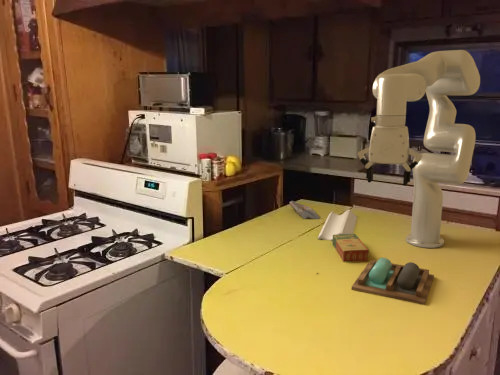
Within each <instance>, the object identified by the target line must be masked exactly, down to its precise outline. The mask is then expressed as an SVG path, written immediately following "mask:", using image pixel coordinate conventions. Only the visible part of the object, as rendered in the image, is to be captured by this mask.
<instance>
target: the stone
mask: <svg viewBox="0 0 500 375" xmlns="http://www.w3.org/2000/svg"><path fill="white" fill-rule="evenodd" d="M289 205H290V207H291V208H292V209H293V210H294V211H295V212H296V213H297V214H298V216H300V217H302V219H304V220H306V219H308V218H309V219H312V220H313V219H314V220H320V219H321V217H320V215H319V214H318V213H317V212H316V211H315V210H314V209H313V208H311V207H309V206H307V205H305V204H302V203H298V202H296V201H294V200H291V201H289Z"/></svg>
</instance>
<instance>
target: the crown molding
mask: <svg viewBox="0 0 500 375" xmlns="http://www.w3.org/2000/svg"><path fill="white" fill-rule="evenodd" d="M357 219H358V216H357V215H356V214H355V212H353V210H351V209H346V210H345V211H344V212H343V213H341V214H336V213H335V212H334V211H331V212H330V213H329V214H328V216H327V218H326V220H325V222H324V224H323V226H322V228H321V230H320V232H319V234H318V236H317V240H320V239H322V240H324V241H332V242H333V235H337V234H354V230H355V228H356V223H357Z"/></svg>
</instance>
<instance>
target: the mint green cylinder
mask: <svg viewBox="0 0 500 375" xmlns="http://www.w3.org/2000/svg"><path fill="white" fill-rule="evenodd" d="M376 261H377V262H376V264H375V265H374V267H373V268H372V270H371V271H370V273H369V278H370V280H371V281H372V282H373V283H375V284H381V283H383V282H384V280H385V279H386V277H387V275H388V273H389V272H390V270H391V268H392V263H393V262H391V260H390V259H389V258H386V257H380V258H379V259H378V260H376Z"/></svg>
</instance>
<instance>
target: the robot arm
mask: <svg viewBox="0 0 500 375" xmlns="http://www.w3.org/2000/svg"><path fill="white" fill-rule="evenodd" d="M480 84H481V75H480V72H479V69H478V67H477V64H476V62H475V60H474V58H473V56H472V55H471V53H469V52H468V51H467V50H464V49H457V50H456V49H454V50H453V49H452V50H438V51H433V52H430V53H428V54H426V55H425V56H423V57H422V58H419V60H417V61H412V62H409V63H406V64H402V65H399V66H395V67H392V68H389V69H386V70H384V71H383V72H381V73H379V74H378V75H377V76H376V77H375V79H374V81H373V84H372V95H373V97H374V98H375V99H377V100H376V114H375V116H372V117H370V118H371V119H370V121H371V123H375V126H372V129H371V135H370V141H369V146H368V147H366V148H364V149H362V150H359V151H357V154H356V155H357V156H358V158H359V160H360V161H359V162H360V163H361V164H362V165H364V168H365V169H366V170H365V171H366V172H365V175H366V176H365V179H366V180H367V183H370V184H371V182H372V181H373V180H374V167H373V165H374V164H382V165H396V166H399V165H400V166H402V167H403V168H404V172H403V180H402V183H403V186H405V187H406V186H407V185H408V183H411V176H412V178H413V195H412V197H413V198H412V212H411V224H410V233H409V234H407V235H406V236H405V241H406V242H407V243H408V244H410V245H413V246H415V247H420V248H424V249H425V248H426V249H427V248H429V249H434V248H441V247H442V246H444V245H445V239H444V238H443V237H441V225H442V214H443V202H444V193H443V190H442V188H441V187H440V185H439V183H440V184H450V185H462V184H464V183H465V182H466V180H467V178H468V176H469V173H470V170H471V169H470V168H471V164H472V159H473V156H474V150H475V145H476V139H477V138H476V137H477V136H476V131H475V128H474V127H473V126H472V125H470V124H465V123H455V122H456V116H457V109H456V107H455V105H454V103H453V102H452V100H450V98H449V97H448V96H472V95H474V94H476V93H477V92H478V90H479V88H480ZM425 95H426V98H427V100H428V102H427V103H428V106H429V113H428V119H427V122H426V127H425V131H424V135H423V136H424V137H423V146H424V147H425V148H426V149H428V150H429V151H435V152H444V154H443V153H435V152H423V153H419V152H418V151H416V150H414V149H412V148H410V137H409V128H408V126H406V118H407V117H406V115H407V102H417V101H419V100H421V99H422V98H423V97H424V96H425ZM445 152H446V153H447V152H448V153H455V154H445ZM365 154H368V159H367V158H366V156H365ZM410 156H412V157H413V160H412V163H410V162H409V159H410ZM411 172H412V173H411ZM411 174H412V175H411Z"/></svg>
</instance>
